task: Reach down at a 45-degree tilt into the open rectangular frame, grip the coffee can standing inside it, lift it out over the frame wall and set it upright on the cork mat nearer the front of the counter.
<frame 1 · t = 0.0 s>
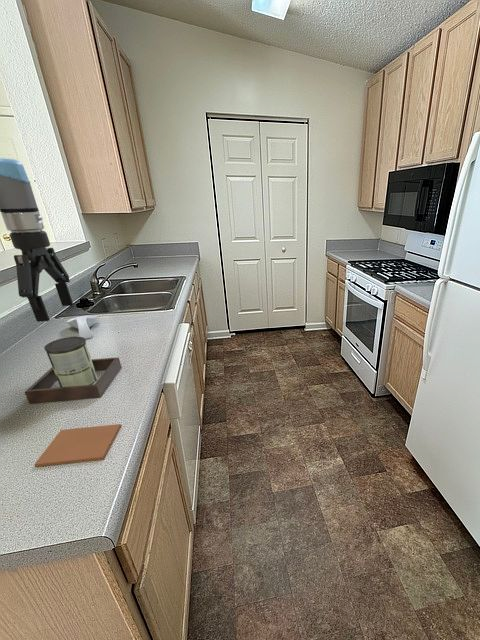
hand: (56, 312, 92), 24 cm above the counter, tool pointing down, fingers open, 13 cm apart
rectangular frame: (80, 384, 104), on the counter
cork mat: (81, 445, 78), on the counter
spoon rest: (85, 331, 146), on the counter
coffee can: (80, 384, 104), resting in rectangular frame
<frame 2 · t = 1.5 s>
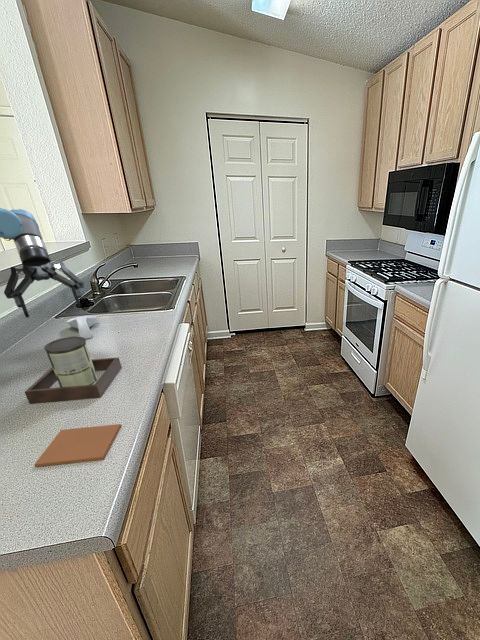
hand: (54, 310, 102), 21 cm above the counter, tool tilted 45°, fingers open, 13 cm apart
nothing on the counter moved.
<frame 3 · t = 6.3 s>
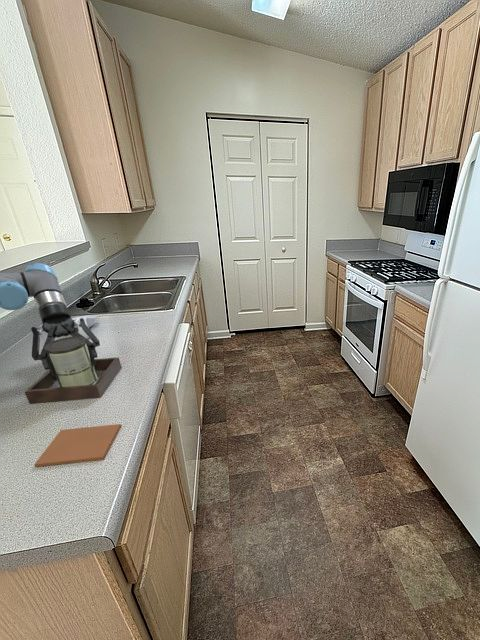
hand: (75, 372, 99), 5 cm above the counter, tool tilted 45°, fingers closed on coffee can, 10 cm apart
coffee can: (80, 384, 104), resting in rectangular frame, touching gripper
everything else where it was.
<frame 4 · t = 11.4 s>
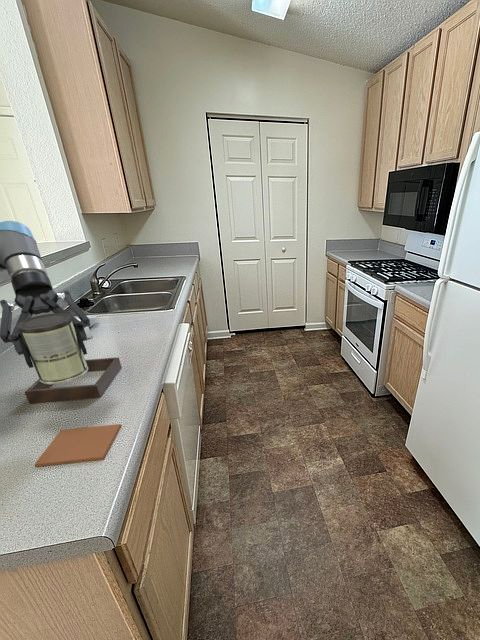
hand: (58, 358, 77), 19 cm above the counter, tool tilted 45°, fingers closed on coffee can, 10 cm apart
coffee can: (65, 374, 82), point 13 cm above the counter, touching gripper
everything else where it was.
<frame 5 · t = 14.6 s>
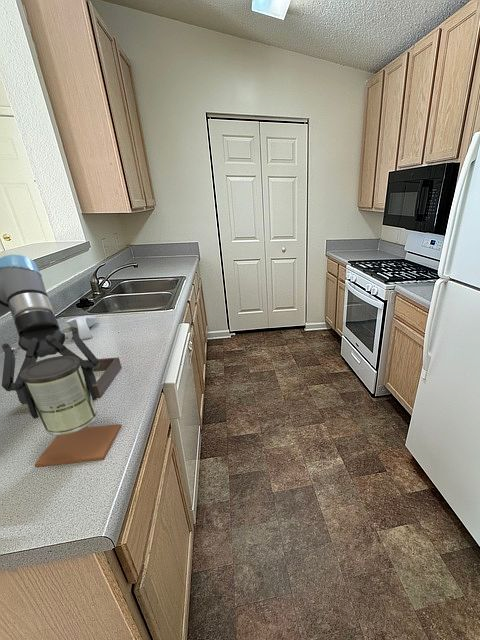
hand: (65, 407, 71), 12 cm above the counter, tool tilted 45°, fingers closed on coffee can, 10 cm apart
coffee can: (72, 421, 75), point 7 cm above the counter, touching gripper
everything else where it was.
when the fingers open (6 cm above the counter, at t = 16.9 s): coffee can stays where it is, resting on cork mat.
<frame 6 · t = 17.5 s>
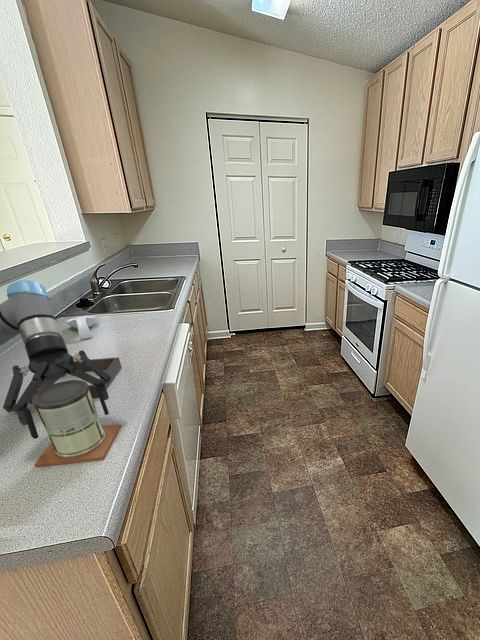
hand: (72, 424, 73), 7 cm above the counter, tool tilted 45°, fingers open, 13 cm apart
coffee can: (81, 443, 78), point 1 cm above the counter, touching cork mat
everything else where it was.
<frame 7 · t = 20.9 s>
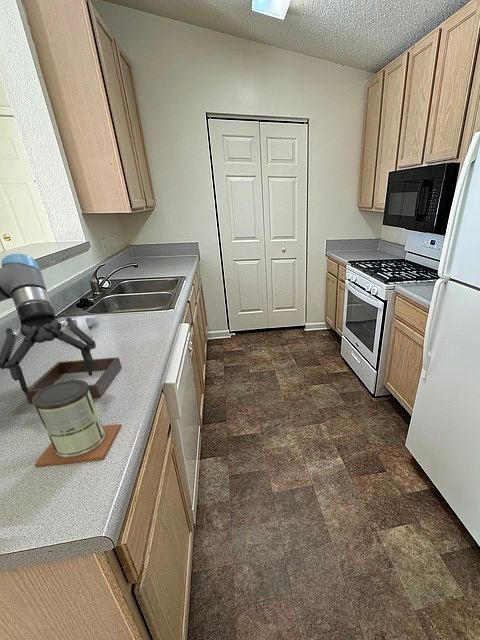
hand: (59, 382, 82), 12 cm above the counter, tool tilted 45°, fingers open, 13 cm apart
nothing on the counter moved.
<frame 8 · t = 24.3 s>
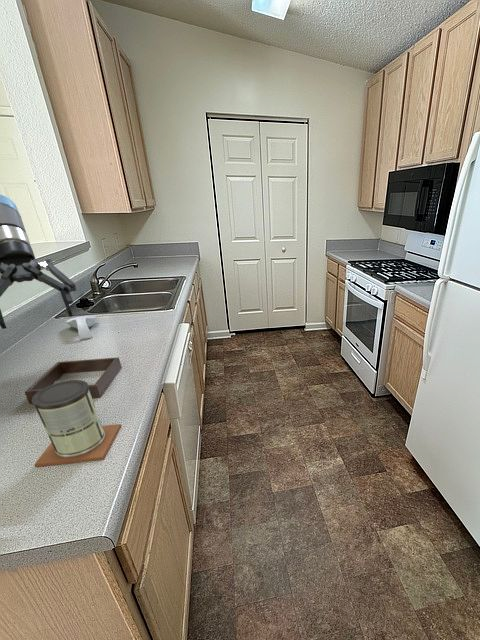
hand: (38, 319, 81), 26 cm above the counter, tool tilted 45°, fingers open, 13 cm apart
nothing on the counter moved.
at the end: coffee can inside the target area on the cork mat (0.0 cm from its centre), point 0.6 cm above the cork mat's base; coffee can tilted 0°; the gripper is holding nothing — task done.
